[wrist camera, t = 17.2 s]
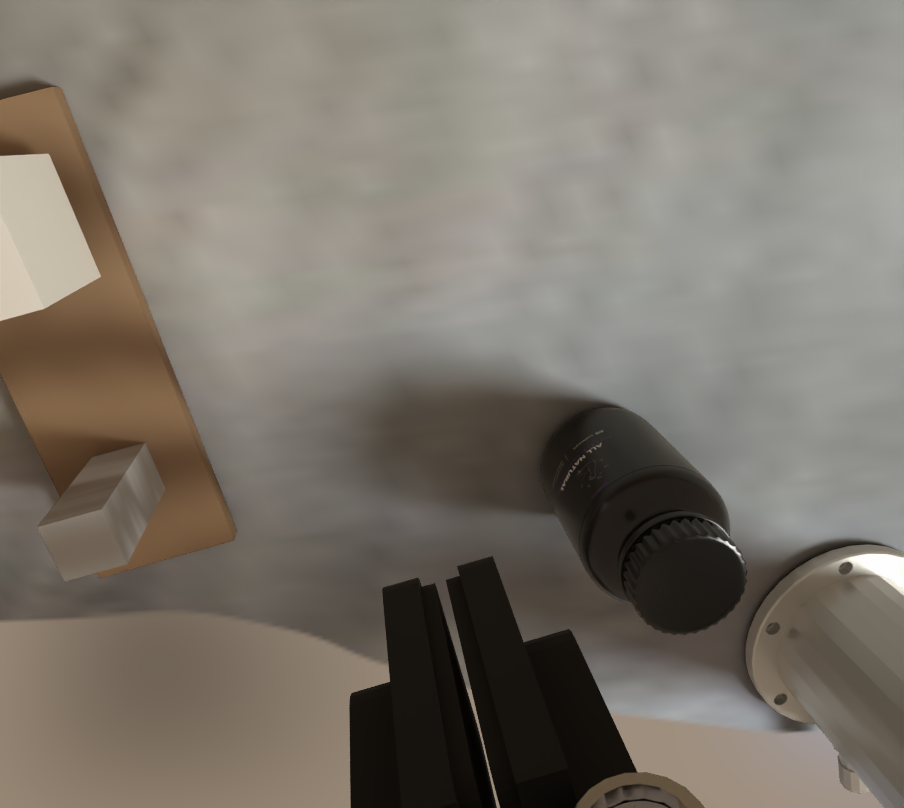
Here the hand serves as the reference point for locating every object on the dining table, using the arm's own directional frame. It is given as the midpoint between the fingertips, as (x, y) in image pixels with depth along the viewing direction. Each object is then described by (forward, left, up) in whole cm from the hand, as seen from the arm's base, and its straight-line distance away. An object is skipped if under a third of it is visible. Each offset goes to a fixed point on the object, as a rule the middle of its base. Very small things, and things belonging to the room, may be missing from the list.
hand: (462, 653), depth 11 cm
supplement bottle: (-12, -9, -27) cm, 31 cm away
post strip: (+1, +14, -27) cm, 31 cm away
